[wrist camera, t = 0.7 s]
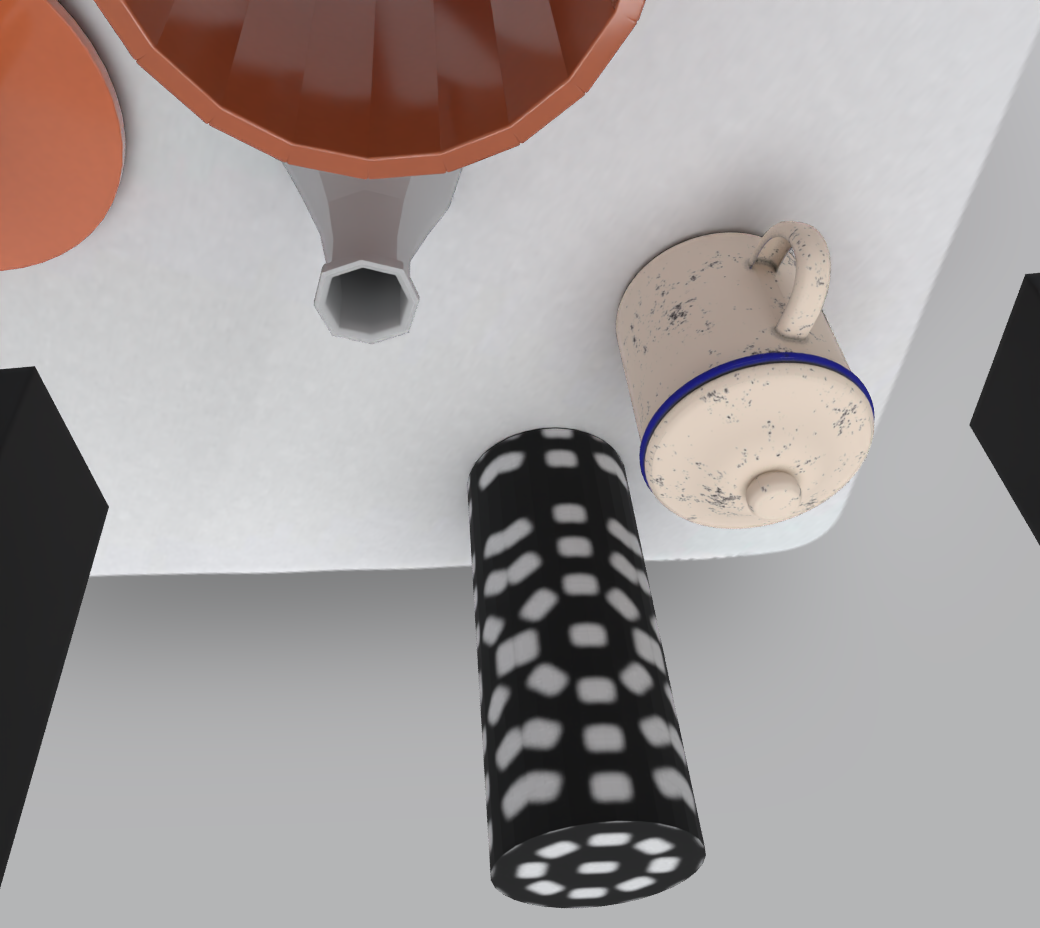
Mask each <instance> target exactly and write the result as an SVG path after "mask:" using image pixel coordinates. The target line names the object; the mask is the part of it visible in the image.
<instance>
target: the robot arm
mask: <svg viewBox="0 0 1040 928" xmlns="http://www.w3.org/2000/svg"><path fill="white" fill-rule="evenodd" d="M970 427H971V428H972V430H973V432H974V433H975V435H976V437H977V439H978V440H979V442H980V444H981V445H982V447H983V449H984V451H985V452H986V454H987V456H988V457H989V459H990V461H991V463H992V464H993V466H994V468H995V469H996V471H997V473H998V475H999V476H1000V478H1001V480H1002V481H1003V483H1004V485H1005V487H1006V488H1007V490H1008V492H1009V493H1010V495H1011V497H1012V499H1013V500H1014V502H1015V504H1016V505H1017V507H1018V509H1019V510H1020V512H1021V514H1022V516H1023V517H1024V519H1025V521H1026V523H1027V524H1028V526H1029V528H1030V529H1031V531H1032V533H1033V535H1034V536H1035V538H1036V540H1037V542H1038V543H1039V545H1040V273H1033V274H1025V277H1024V279H1023V282H1022V285H1021V288H1020V290H1019V293H1018V296H1017V298H1016V301H1015V304H1014V306H1013V309H1012V312H1011V314H1010V317H1009V320H1008V322H1007V325H1006V328H1005V331H1004V333H1003V336H1002V339H1001V341H1000V344H999V347H998V350H997V352H996V355H995V357H994V360H993V363H992V366H991V368H990V371H989V374H988V377H987V379H986V382H985V385H984V387H983V390H982V393H981V395H980V398H979V401H978V403H977V406H976V409H975V411H974V414H973V417H972V419H971V422H970ZM108 508H109V506H108V504H107V503H106V501H105V499H104V497H103V495H102V493H101V491H100V489H99V487H98V485H97V484H96V482H95V480H94V478H93V476H92V474H91V472H90V470H89V468H88V466H87V465H86V463H85V461H84V459H83V457H82V455H81V453H80V451H79V449H78V447H77V446H76V444H75V442H74V440H73V438H72V436H71V434H70V432H69V430H68V428H67V427H66V425H65V423H64V421H63V419H62V417H61V415H60V413H59V411H58V409H57V408H56V406H55V404H54V402H53V400H52V398H51V396H50V394H49V392H48V390H47V389H46V387H45V385H44V383H43V381H42V379H41V377H40V375H39V373H38V371H37V370H36V368H35V366H32V367H22V368H11V369H0V887H1V883H2V880H3V876H4V873H5V869H6V866H7V862H8V859H9V855H10V851H11V848H12V845H13V841H14V838H15V834H16V830H17V827H18V824H19V820H20V816H21V813H22V809H23V806H24V803H25V799H26V795H27V792H28V789H29V785H30V781H31V778H32V774H33V771H34V767H35V764H36V760H37V757H38V753H39V750H40V746H41V743H42V739H43V736H44V732H45V729H46V725H47V722H48V718H49V715H50V711H51V708H52V704H53V701H54V697H55V694H56V690H57V687H58V683H59V680H60V676H61V673H62V669H63V666H64V662H65V659H66V655H67V652H68V648H69V644H70V641H71V638H72V634H73V631H74V627H75V624H76V620H77V617H78V613H79V610H80V606H81V603H82V599H83V596H84V592H85V589H86V585H87V582H88V578H89V575H90V571H91V568H92V564H93V561H94V557H95V554H96V550H97V547H98V543H99V540H100V536H101V533H102V529H103V526H104V522H105V519H106V515H107V512H108Z"/></svg>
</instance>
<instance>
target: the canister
mask: <svg viewBox="0 0 1040 928" xmlns="http://www.w3.org/2000/svg"><path fill="white" fill-rule="evenodd" d="M94 1H95V3H96V4H97V6H98V7H99V9H100V10H101V12H102V13H103V15H104V16H105V18H106V19H107V20H108V22H109V23H110V25H111V26H112V28H113V29H114V31H115V32H116V34H117V35H118V36H119V38H120V39H121V41H122V42H123V44H124V45H125V47H126V48H127V50H128V51H129V53H130V54H131V55H132V57H133V58H134V59H135V60H137V61H136V62H137V64H138V65H140V66H141V67H142V68H143V69H144V70H145V71H146V72H148V73H149V74H150V75H151V76H152V77H153V78H154V79H156V80H157V81H158V82H159V83H160V84H161V85H162V86H164V87H165V88H166V89H167V90H168V91H169V92H170V93H172V94H173V95H174V96H175V97H176V98H177V99H178V100H180V101H181V102H182V103H183V104H184V105H185V106H187V107H188V108H189V109H190V110H191V111H192V112H193V113H195V114H196V115H197V116H198V117H199V118H200V119H201V120H203V121H204V122H205V123H206V124H208V123H209V125H210V126H212V127H214V128H216V129H218V130H220V131H222V132H224V133H226V134H228V135H230V136H232V137H234V138H236V139H238V140H240V141H242V142H244V143H246V144H248V145H250V146H252V147H254V148H256V149H258V150H260V151H262V152H264V153H266V154H268V155H270V156H272V157H274V158H276V159H278V160H280V161H282V162H285V163H286V162H287V164H289V165H294V166H299V167H304V168H309V169H314V170H319V171H324V172H329V173H334V174H339V175H344V176H349V177H354V178H359V179H365V180H367V179H370V180H372V179H384V178H396V177H408V176H420V175H433V174H444V173H446V171H447V172H452V171H454V170H457V169H459V168H462V167H465V166H467V165H470V164H472V163H475V162H477V161H480V160H483V159H485V158H488V157H490V156H493V155H495V154H498V153H501V152H503V151H506V150H508V149H511V148H514V147H516V146H518V145H520V143H524V142H525V141H526V140H528V139H529V138H530V137H531V136H533V135H534V134H535V133H537V132H538V131H539V130H540V129H542V128H543V127H544V126H546V125H547V124H548V123H549V122H551V121H552V120H553V119H555V118H556V117H557V116H558V115H560V114H561V113H562V112H564V111H565V110H566V109H567V108H569V107H570V106H571V105H573V104H574V103H575V102H576V101H578V100H579V99H580V98H582V97H583V96H584V95H585V92H586V93H587V92H588V91H589V90H590V88H591V87H592V85H593V84H594V83H595V81H596V80H597V78H598V77H599V76H600V74H601V73H602V71H603V70H604V69H605V67H606V66H607V64H608V63H609V62H610V60H611V59H612V57H613V56H614V55H615V53H616V52H617V50H618V49H619V48H620V46H621V45H622V43H623V42H624V41H625V39H626V38H627V36H628V35H629V34H630V32H631V31H632V29H633V28H634V27H635V25H636V24H637V21H638V20H639V18H640V15H641V13H642V10H643V7H644V4H645V1H646V0H94Z"/></svg>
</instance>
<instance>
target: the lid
mask: <svg viewBox="0 0 1040 928" xmlns="http://www.w3.org/2000/svg"><path fill="white" fill-rule="evenodd" d="M124 162H125V130H124V123H123V116H122V112H121V108H120V105H119V101H118V98H117V94H116V91H115V89H114V86H113V84H112V82H111V79H110V77H109V75H108V72H107V70H106V68H105V66H104V64H103V62H102V61H101V59H100V57H99V55H98V54H97V52H96V50H95V48H94V47H93V45H92V43H91V42H90V40H89V39H88V38H87V36H86V35H85V33H84V32H83V31H82V29H81V28H80V27H79V25H78V24H77V22H76V21H75V20H74V19H73V17H72V16H71V15H70V14H69V13H68V12H67V11H66V10H65V8H64V7H63V6H62V5H61V4H60V3H59V2H58V1H57V0H0V271H4V270H11V269H18V268H24V267H28V266H32V265H35V264H39V263H43V262H45V261H48V260H50V259H52V258H55V257H57V256H60V255H62V254H63V253H65V252H67V251H68V250H70V249H72V248H73V247H75V246H77V245H78V244H79V243H81V242H82V241H83V240H84V239H85V238H86V237H88V236H89V235H90V234H91V233H92V232H93V231H94V230H95V229H96V227H97V226H98V225H99V224H100V222H101V221H102V220H103V219H104V217H105V216H106V214H107V212H108V210H109V208H110V207H111V205H112V203H113V201H114V198H115V196H116V193H117V190H118V187H119V184H120V181H121V179H122V174H123V168H124Z"/></svg>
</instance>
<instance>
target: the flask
mask: <svg viewBox="0 0 1040 928" xmlns="http://www.w3.org/2000/svg"><path fill="white" fill-rule="evenodd" d="M283 164H284V166H285V167H286V169H287V171H288V173H289V175H290V176H291V178H292V180H293V182H294V184H295V186H296V187H297V189H298V191H299V193H300V195H301V196H302V198H303V200H304V202H305V204H306V207H307V209H308V211H309V213H310V215H311V217H312V219H313V221H314V223H315V225H316V227H317V229H318V231H319V233H320V236H321V241H322V246H323V251H324V255H325V260H326V264H324V266H323V267H322V271H321V275H320V279H319V283H318V287H317V292H316V296H315V300H314V306H315V308H316V310H317V311H318V313H319V315H320V316H321V318H322V320H323V321H324V323H325V325H326V326H327V328H328V330H329V331H330V333H331V335H332V336H335V337H340V338H345V339H350V340H354V341H359V342H364V343H369V344H374V343H377V342H380V341H384V340H387V339H390V338H393V337H396V336H400V335H403V334H406V333H409V330H410V327H411V324H412V321H413V318H414V315H415V312H416V309H417V306H418V303H419V295H418V292H417V290H416V288H415V286H414V284H413V282H412V280H411V278H410V261H411V260H412V258H413V257H414V255H415V254H416V252H417V251H418V249H419V247H420V246H421V244H422V243H423V241H424V240H425V238H426V237H427V235H428V234H429V233H430V232H431V230H432V229H433V228H434V227H435V225H436V224H437V223H438V222H439V220H440V219H441V218H442V217H443V215H444V214H445V213H446V211H447V210H448V208H449V206H450V203H451V200H452V197H453V194H454V191H455V188H456V185H457V182H458V179H459V176H460V173H461V170H462V168H459V169H457V170H454V171H452V172H447V171H446V173H444V174H433V175H420V176H408V177H396V178H384V179H372V180H370V179H367V180H365V179H359V178H354V177H349V176H344V175H339V174H334V173H329V172H324V171H319V170H314V169H309V168H304V167H299V166H294V165H289V164H287V162H286V163H285V162H283Z"/></svg>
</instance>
